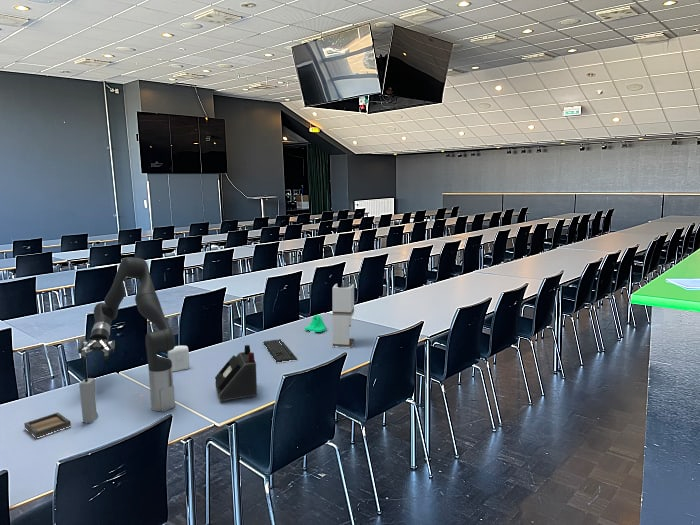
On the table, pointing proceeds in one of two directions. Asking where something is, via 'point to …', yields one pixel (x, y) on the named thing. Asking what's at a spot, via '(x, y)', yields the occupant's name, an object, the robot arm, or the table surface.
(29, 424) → the brown square tray
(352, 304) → the tall grey pillar
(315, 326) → the green draped cloth
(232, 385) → the voltmeter
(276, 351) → the keyboard
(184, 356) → the photo printer
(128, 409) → the table surface
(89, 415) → the vintage mobile phone
